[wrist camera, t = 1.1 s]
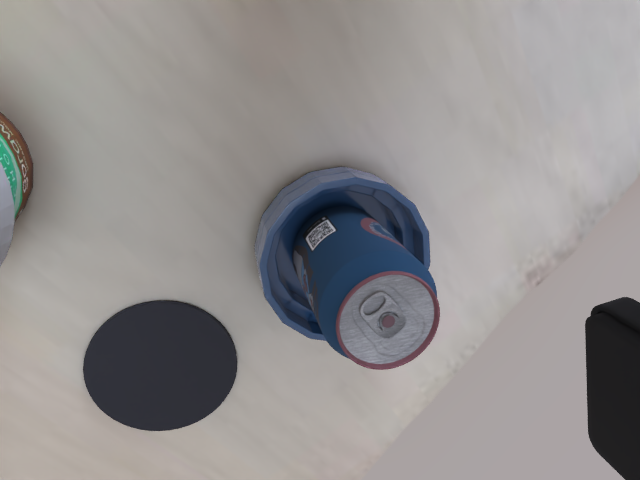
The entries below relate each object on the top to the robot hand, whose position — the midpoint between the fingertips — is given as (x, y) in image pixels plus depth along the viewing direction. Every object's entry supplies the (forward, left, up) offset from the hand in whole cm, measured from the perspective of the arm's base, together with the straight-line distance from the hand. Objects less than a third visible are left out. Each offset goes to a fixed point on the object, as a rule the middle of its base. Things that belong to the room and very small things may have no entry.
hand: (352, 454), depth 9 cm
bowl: (+1, +9, -29) cm, 30 cm away
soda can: (+1, +9, -29) cm, 30 cm away
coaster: (+16, +4, -29) cm, 33 cm away
